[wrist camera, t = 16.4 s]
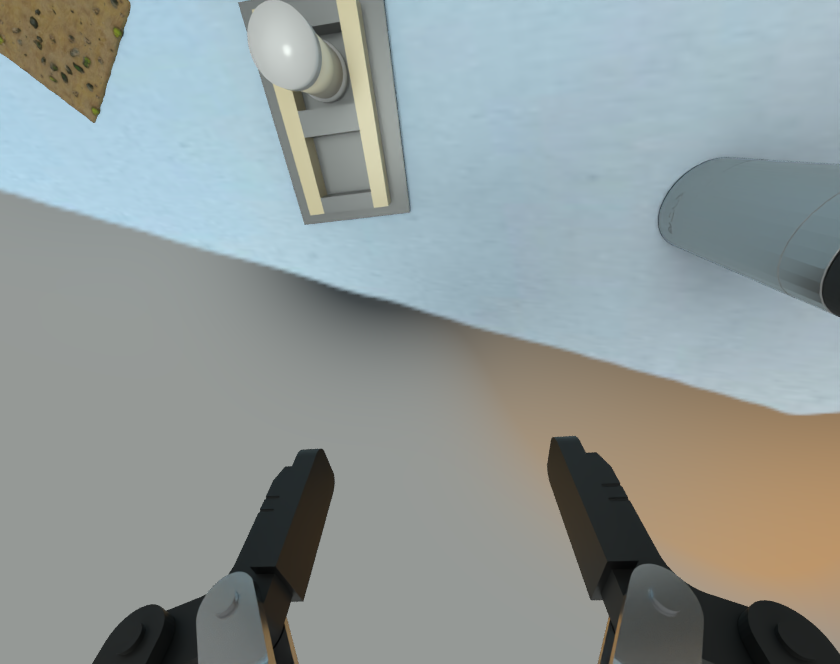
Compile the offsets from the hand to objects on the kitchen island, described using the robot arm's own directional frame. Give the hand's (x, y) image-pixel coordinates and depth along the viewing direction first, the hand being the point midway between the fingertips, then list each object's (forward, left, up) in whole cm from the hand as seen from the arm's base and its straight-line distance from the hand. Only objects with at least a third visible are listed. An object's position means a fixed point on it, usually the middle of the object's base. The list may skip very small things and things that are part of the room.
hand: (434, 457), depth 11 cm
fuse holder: (+8, -12, -30) cm, 33 cm away
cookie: (+32, -23, -31) cm, 50 cm away
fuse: (+8, -16, -29) cm, 34 cm away
